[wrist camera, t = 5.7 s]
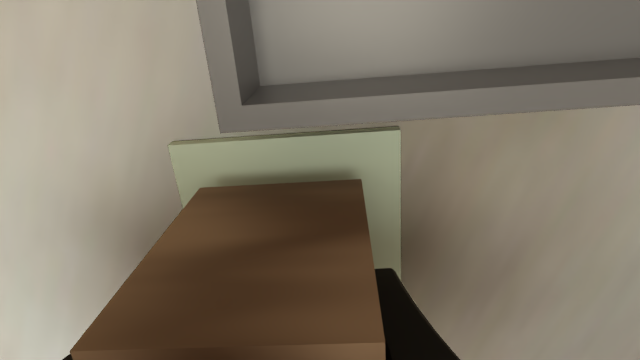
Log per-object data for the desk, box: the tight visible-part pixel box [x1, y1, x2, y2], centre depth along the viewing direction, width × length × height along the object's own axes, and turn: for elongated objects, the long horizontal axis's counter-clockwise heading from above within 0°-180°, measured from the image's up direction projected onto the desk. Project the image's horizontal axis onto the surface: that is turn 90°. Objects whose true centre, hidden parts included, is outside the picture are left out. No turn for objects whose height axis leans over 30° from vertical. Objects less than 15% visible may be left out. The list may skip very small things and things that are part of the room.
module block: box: [70, 179, 386, 360], centre depth 9 cm, size 4×4×6 cm
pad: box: [168, 126, 401, 281], centre depth 14 cm, size 7×7×1 cm
